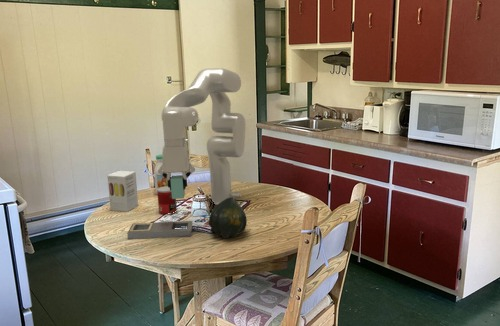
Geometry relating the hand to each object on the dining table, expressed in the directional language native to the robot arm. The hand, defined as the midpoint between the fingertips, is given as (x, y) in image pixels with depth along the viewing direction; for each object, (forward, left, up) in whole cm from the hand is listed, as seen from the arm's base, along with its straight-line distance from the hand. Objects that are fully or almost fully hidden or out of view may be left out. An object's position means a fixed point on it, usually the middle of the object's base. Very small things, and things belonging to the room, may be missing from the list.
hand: (177, 188), depth 168 cm
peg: (0, 0, -3) cm, 3 cm away
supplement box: (+29, -32, -18) cm, 47 cm away
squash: (-19, +4, -18) cm, 27 cm away
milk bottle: (+14, -53, -18) cm, 57 cm away
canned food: (+8, -24, -18) cm, 31 cm away
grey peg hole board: (+8, 0, -18) cm, 19 cm away
